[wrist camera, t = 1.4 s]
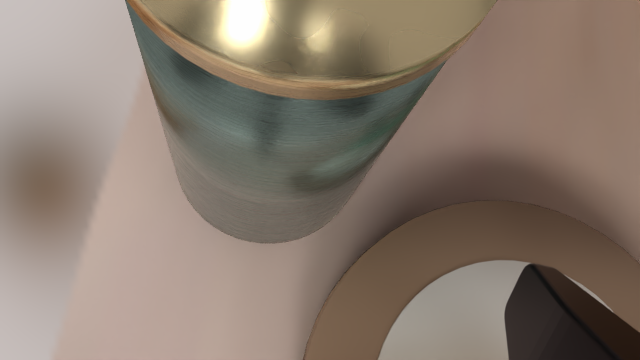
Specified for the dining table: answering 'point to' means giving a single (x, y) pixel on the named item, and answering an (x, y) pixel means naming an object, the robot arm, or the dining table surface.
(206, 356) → the dining table surface
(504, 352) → the turntable
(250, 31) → the tea tin
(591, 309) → the robot arm
